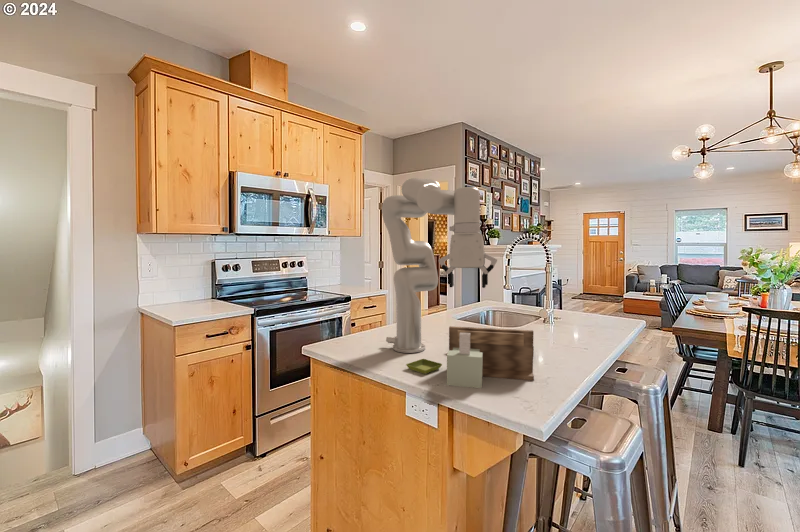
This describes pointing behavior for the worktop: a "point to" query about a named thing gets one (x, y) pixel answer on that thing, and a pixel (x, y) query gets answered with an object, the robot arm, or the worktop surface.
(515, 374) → the wall board
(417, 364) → the olive green square tray
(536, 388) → the worktop surface
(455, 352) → the pale green stepped block
